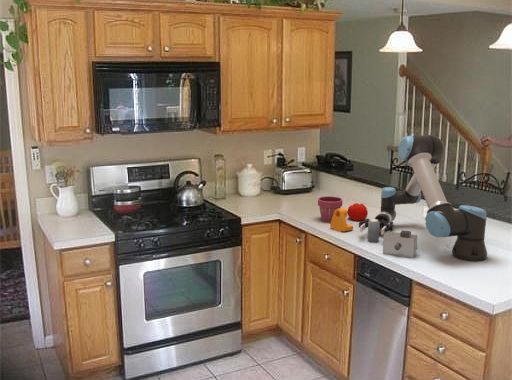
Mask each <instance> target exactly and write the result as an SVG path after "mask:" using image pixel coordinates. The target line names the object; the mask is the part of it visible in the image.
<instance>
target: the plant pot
mask: <svg viewBox="0 0 512 380" xmlns="http://www.w3.org/2000/svg"><path fill="white" fill-rule="evenodd" d="M317 206H318V207H319V212H320V217H321V220H322V222H324V223H325V222H326V223H331V220H332V217H333V214H334V211H335V210H336V209H340V208H342V207H343V198H341V197H339V196H330V195H327V196H320V197H318V198H317Z"/></svg>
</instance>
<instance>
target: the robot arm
mask: <svg viewBox="0 0 512 380" xmlns="http://www.w3.org/2000/svg"><path fill="white" fill-rule="evenodd" d="M445 149H446V148H445V145H444V142H443V141H442V139H441V138H439V137H438V136H436V135H432V134H426V135H424V134H422V135H411V134H410V135H407V136H406V135H405V136H403V137H402V138H401V140H400V142H399V144H398V152H397V153H398V156H399V158H400V160H402V161H406V162H407V165H408V166H409V167H410V168H412V170H413V172H414V173H413V175H412V177H411V179H410V180H409V182H408V184H407V186H406V187H405V189H404V190H397V189H396V188H395V187H393V186H392V187H391V186H387V187H382V189H381V195H380V212H379V213H378V214H377V215H376V216H375V217H374V219H377V220H378V221H379V222H380V227H379V229H381V232H380V235H382V236H383V235H384V234H385V233H386V232H387V231H389V232H394V230H393V229H394V221H395V219H396V217H397V212H396V210H395V209H396V205H398V206H399V205H409V204H410V205H413V204H419V202H421V200H422V195H423V198H424V200H425V203H426V205H427V209H428V210H427V211H426V216H425V217H424V218H425V219H424V221H425V227H426V229H427V231H428V233H429V234H430V235H431V236H433V237H435V238H447V237H448V238H449V237H456V240H455V242H454V245H453V247H452V249H451V255H452V256H453V257H455V258H457V259H460V260H462V261H464V260H465V261H470V262H481V261H485V260H487V259H488V251H487V247H486V244H485V243H486V242H485V235H486V225H487V224H486V223H487V211H486V210H485V209H483V208H482V207H481V208H480V207H477V206H472V205H466V204H465V205H464V204H463V205H462V204H461V205H459V207H458V209H455V208H454V206H453V204H452V203H451V202H448V201H447V198H446V196H445V194H444V193H445V192H444V190H443V189H442V185H441V183H440V181H439V179H438V177H437V174H436V172H435V167H436V166H437V165H439V164H441V162H442V160H443V158H444V156H445ZM368 221H370V218H366V219H364V220H361V221H359V222H358V228H359V233H362V232H363V231H364V230H365V229H368Z"/></svg>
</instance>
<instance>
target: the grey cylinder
mask: <svg viewBox="0 0 512 380" xmlns="http://www.w3.org/2000/svg"><path fill="white" fill-rule="evenodd" d="M369 220H370V221H368V227H367V242H368V243H379V242H380V228H379V227H380V222H379V221H378V220H377V219H375V218H369Z"/></svg>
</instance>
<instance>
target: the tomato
mask: <svg viewBox="0 0 512 380" xmlns="http://www.w3.org/2000/svg"><path fill="white" fill-rule="evenodd" d="M368 214H369V212H368V208H367V206H366V205H365V204H364V203H357V202H356V203H353V204H352V205H351V204H350V205H349V206H348V208H347V217H348V218H349V219H352V220H353V221H355V222H357V221H365V220H366V219H367V217H368Z"/></svg>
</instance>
